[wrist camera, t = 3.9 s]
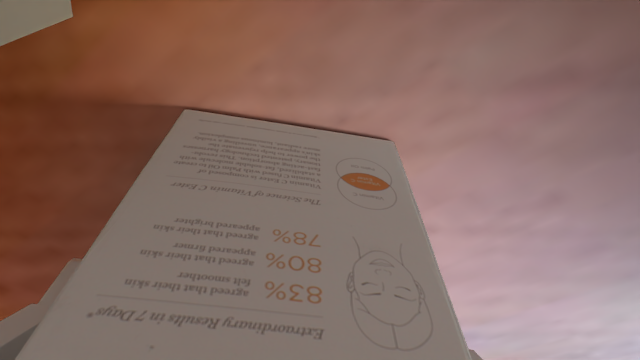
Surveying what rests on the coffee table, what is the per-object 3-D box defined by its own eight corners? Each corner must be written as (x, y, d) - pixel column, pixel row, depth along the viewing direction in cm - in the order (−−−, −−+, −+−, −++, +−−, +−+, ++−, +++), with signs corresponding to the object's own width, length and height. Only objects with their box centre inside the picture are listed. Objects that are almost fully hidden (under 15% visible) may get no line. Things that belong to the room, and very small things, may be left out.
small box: (184, 235, 18) (-31, 748, 7) (182, 103, 14) (-268, 723, 3) (360, 257, 18) (423, 743, 8) (399, 138, 15) (620, 722, 4)
